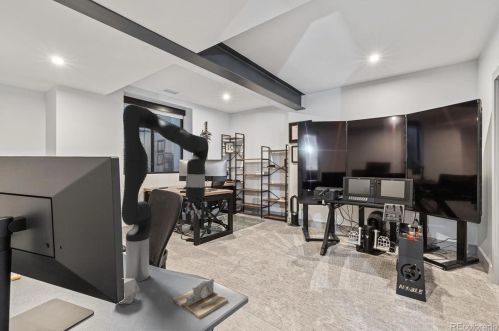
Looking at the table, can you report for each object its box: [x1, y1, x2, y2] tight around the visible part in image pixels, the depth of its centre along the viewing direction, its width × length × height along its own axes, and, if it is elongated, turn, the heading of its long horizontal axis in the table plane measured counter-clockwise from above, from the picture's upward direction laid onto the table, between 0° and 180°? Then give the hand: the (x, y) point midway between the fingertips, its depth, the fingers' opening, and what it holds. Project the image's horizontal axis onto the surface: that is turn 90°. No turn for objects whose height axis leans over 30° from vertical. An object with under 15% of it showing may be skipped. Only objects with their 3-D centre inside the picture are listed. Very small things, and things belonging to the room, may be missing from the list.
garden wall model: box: [186, 278, 215, 306], centre depth 87 cm, size 12×2×6 cm, turn 140°
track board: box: [173, 288, 229, 319], centre depth 87 cm, size 15×13×1 cm
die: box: [118, 278, 141, 305], centre depth 87 cm, size 8×9×10 cm
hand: (194, 225), depth 96 cm, fingers open, 8 cm apart
